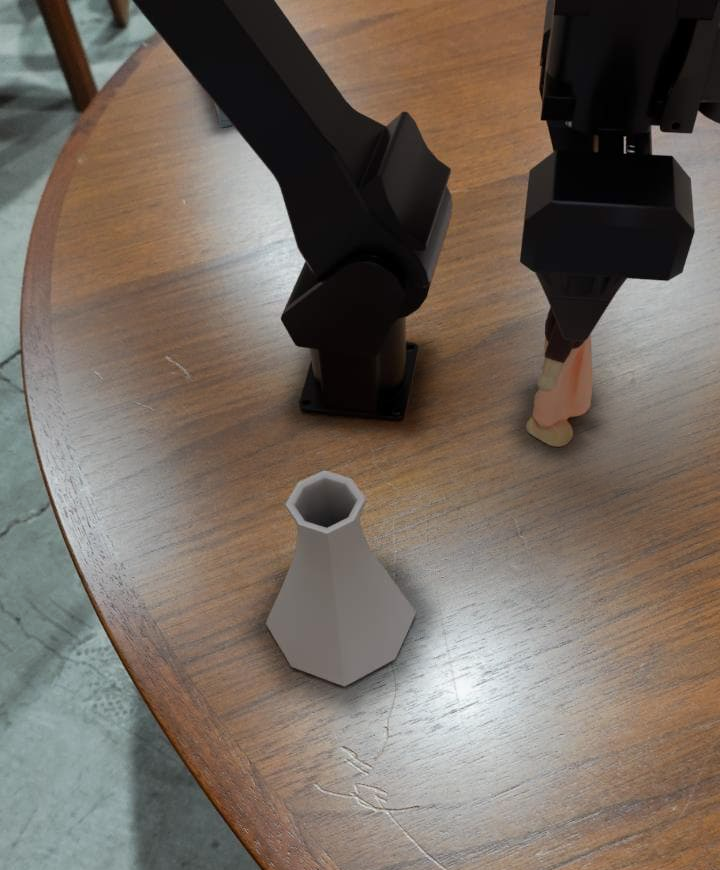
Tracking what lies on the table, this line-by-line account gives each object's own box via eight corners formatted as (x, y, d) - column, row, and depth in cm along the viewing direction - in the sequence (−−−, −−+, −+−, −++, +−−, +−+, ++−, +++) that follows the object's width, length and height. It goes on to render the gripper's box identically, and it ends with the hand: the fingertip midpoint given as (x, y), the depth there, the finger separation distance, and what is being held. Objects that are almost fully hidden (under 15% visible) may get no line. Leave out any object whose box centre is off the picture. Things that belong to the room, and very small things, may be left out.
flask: (441, 613, 46) (447, 491, 37) (345, 713, 43) (329, 604, 34) (337, 539, 49) (321, 411, 40) (241, 628, 46) (204, 509, 37)
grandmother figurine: (587, 463, 51) (631, 281, 40) (519, 457, 51) (545, 276, 41) (589, 368, 55) (629, 182, 45) (526, 363, 56) (551, 179, 45)
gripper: (926, 66, 26) (758, 426, 39) (839, -164, 37) (729, 178, 50) (544, 53, 28) (502, 404, 41) (565, -165, 38) (527, 168, 51)
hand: (577, 276), depth 45 cm, fingers open, 9 cm apart
